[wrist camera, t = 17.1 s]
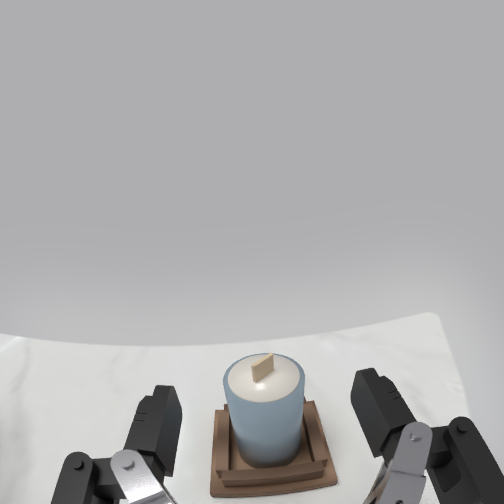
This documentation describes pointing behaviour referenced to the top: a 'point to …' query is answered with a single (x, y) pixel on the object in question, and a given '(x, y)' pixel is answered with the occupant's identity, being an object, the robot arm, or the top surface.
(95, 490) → the robot arm
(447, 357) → the top surface
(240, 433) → the candle jar
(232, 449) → the tray
